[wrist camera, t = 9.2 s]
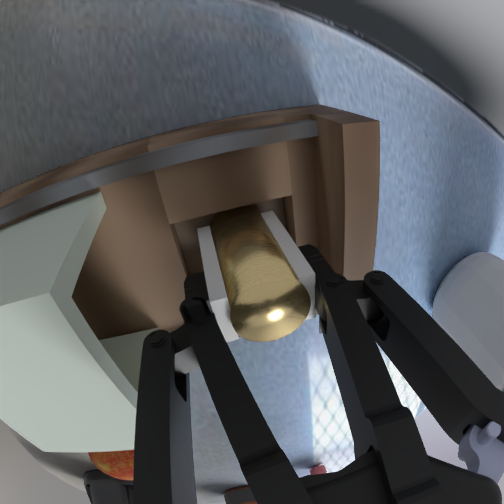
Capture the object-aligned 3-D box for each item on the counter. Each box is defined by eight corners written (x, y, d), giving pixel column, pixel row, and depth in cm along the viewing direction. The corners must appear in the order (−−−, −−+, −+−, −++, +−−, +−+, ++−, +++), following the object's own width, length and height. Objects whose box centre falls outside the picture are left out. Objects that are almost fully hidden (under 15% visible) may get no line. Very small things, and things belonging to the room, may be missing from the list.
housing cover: (59, 357, 19) (43, 451, 12) (-17, 237, 13) (-82, 329, 6) (163, 337, 20) (171, 445, 14) (100, 191, 14) (49, 292, 7)
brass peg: (215, 258, 21) (238, 349, 14) (204, 210, 19) (223, 293, 12) (267, 245, 21) (311, 329, 14) (261, 197, 19) (310, 270, 12)
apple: (164, 431, 34) (171, 485, 27) (107, 436, 32) (108, 487, 26) (143, 402, 29) (146, 467, 23) (79, 407, 28) (75, 467, 21)
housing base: (62, 343, 23) (49, 403, 17) (-18, 202, 15) (-66, 250, 10) (327, 277, 25) (364, 331, 20) (319, 104, 18) (379, 121, 12)
